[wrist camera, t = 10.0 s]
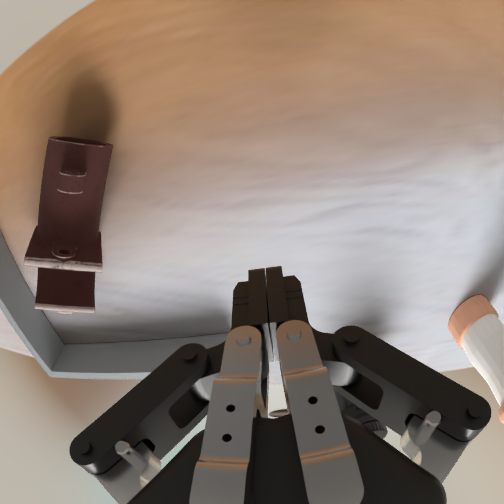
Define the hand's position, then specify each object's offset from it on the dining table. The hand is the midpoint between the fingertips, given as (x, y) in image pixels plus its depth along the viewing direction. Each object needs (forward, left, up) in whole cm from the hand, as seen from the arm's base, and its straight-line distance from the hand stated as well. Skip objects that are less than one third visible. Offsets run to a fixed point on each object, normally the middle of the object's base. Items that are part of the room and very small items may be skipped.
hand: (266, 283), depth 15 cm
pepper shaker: (-28, +22, -14) cm, 38 cm away
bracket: (+16, 0, -14) cm, 22 cm away
